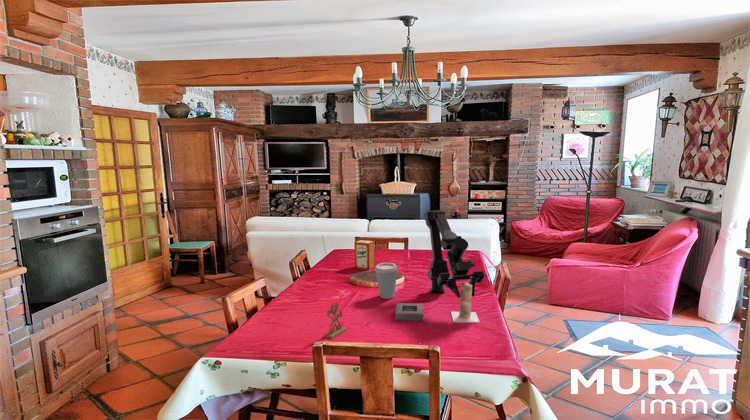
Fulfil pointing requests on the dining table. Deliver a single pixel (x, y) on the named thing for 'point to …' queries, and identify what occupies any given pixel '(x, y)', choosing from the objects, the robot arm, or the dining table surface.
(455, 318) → the white mat
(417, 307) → the socket block
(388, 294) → the disposable coffee cup
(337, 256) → the dining table surface
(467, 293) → the birch peg
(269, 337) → the dining table surface
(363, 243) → the baking soda box
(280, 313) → the dining table surface
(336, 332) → the gingerbread man figurine
